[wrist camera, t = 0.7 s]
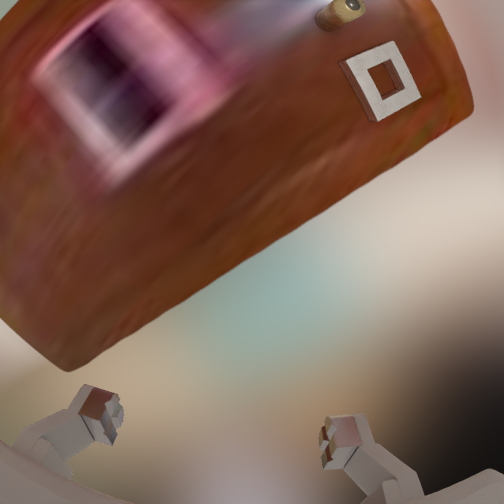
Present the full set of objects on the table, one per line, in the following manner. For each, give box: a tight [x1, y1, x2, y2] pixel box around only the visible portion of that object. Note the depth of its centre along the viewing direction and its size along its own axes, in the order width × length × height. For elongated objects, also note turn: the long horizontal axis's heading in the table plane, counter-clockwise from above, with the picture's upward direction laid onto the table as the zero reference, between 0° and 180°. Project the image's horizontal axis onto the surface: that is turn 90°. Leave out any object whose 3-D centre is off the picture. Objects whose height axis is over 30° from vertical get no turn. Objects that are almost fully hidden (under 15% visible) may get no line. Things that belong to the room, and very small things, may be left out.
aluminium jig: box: [338, 41, 421, 121], centre depth 40 cm, size 12×12×3 cm
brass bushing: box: [315, 0, 366, 31], centre depth 31 cm, size 4×4×10 cm
